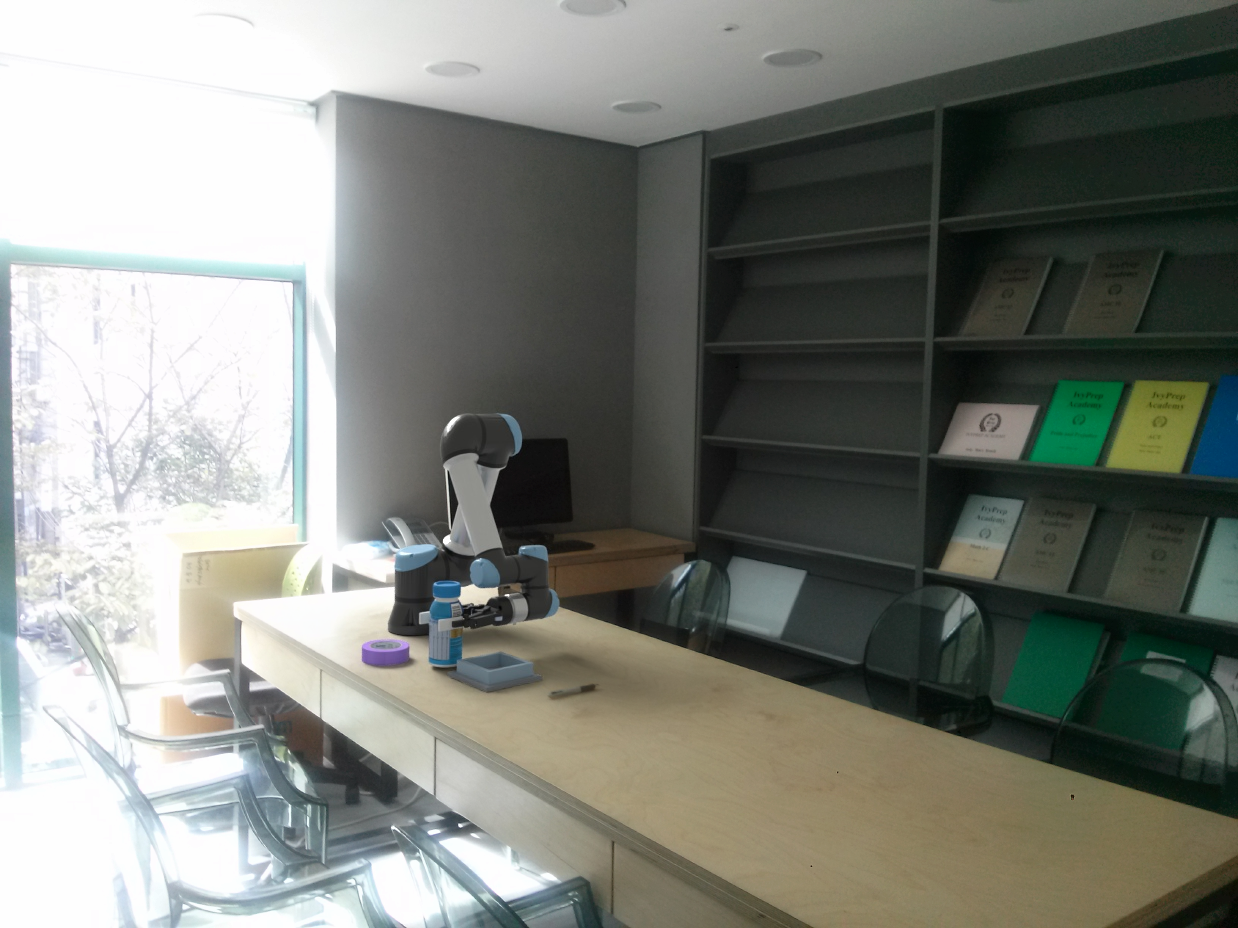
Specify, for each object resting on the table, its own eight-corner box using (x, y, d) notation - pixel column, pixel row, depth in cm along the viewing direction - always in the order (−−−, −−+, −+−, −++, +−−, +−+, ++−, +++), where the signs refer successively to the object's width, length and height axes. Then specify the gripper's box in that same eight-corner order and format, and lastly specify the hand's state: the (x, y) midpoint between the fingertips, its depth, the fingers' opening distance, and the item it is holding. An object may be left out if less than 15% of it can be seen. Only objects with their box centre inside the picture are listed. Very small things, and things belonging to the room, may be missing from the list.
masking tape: (416, 662, 253) (416, 647, 253) (370, 668, 247) (370, 653, 247) (399, 651, 263) (399, 637, 263) (355, 656, 257) (355, 642, 257)
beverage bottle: (428, 668, 245) (429, 587, 243) (427, 658, 253) (429, 579, 251) (463, 667, 246) (465, 586, 245) (462, 658, 254) (463, 579, 253)
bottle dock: (447, 675, 242) (447, 659, 241) (502, 664, 253) (502, 649, 252) (486, 692, 230) (486, 674, 230) (542, 679, 241) (542, 663, 241)
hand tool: (533, 606, 321) (533, 591, 321) (521, 607, 319) (522, 592, 319) (505, 595, 337) (506, 581, 337) (495, 596, 335) (495, 582, 334)
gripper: (530, 632, 254) (452, 646, 238) (482, 616, 269) (406, 628, 253) (530, 602, 253) (453, 615, 237) (482, 588, 268) (407, 598, 253)
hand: (429, 622), depth 245 cm, fingers closed on beverage bottle, 8 cm apart
